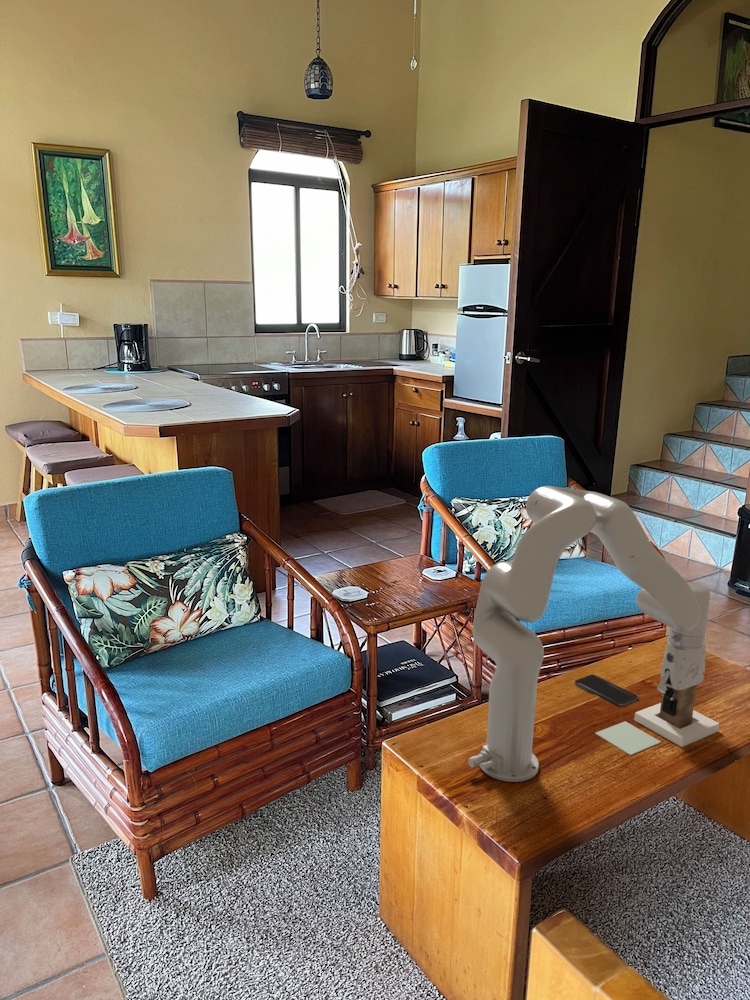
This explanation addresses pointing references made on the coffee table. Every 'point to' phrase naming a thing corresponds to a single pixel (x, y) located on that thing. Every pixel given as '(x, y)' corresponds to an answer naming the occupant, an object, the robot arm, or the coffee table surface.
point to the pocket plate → (682, 736)
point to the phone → (606, 690)
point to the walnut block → (681, 708)
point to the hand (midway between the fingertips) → (676, 709)
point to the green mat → (628, 738)
